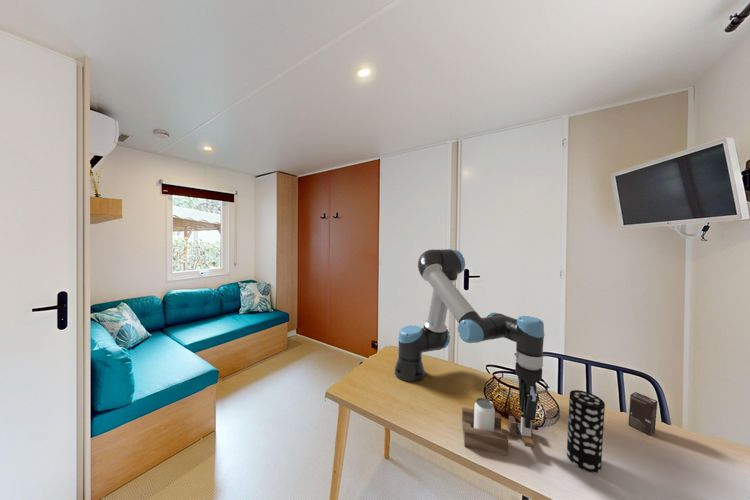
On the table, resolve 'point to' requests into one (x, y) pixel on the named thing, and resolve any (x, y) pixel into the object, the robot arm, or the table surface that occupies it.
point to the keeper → (525, 437)
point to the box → (642, 413)
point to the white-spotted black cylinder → (585, 430)
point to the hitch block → (487, 434)
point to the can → (484, 415)
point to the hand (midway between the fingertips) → (525, 434)
